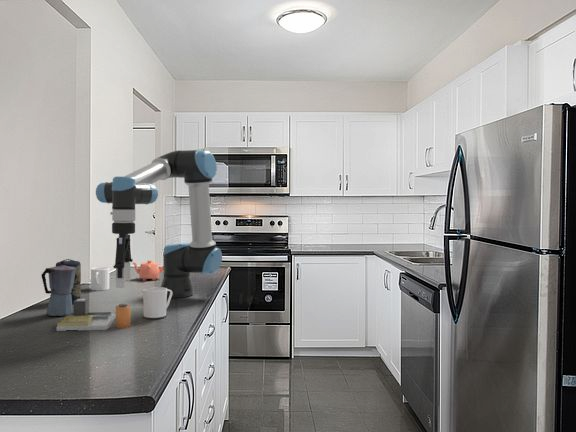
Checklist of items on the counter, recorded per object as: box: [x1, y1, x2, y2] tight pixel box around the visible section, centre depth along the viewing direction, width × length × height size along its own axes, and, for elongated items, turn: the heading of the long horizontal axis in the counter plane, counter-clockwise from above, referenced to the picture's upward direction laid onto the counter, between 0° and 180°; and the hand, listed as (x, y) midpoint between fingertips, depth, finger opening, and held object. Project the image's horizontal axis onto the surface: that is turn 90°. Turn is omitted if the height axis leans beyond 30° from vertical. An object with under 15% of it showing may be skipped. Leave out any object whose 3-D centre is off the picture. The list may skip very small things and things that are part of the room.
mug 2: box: [142, 286, 172, 320], centre depth 189 cm, size 11×9×10 cm
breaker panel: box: [56, 311, 116, 332], centre depth 177 cm, size 16×17×3 cm
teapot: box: [130, 260, 163, 282], centre depth 267 cm, size 14×12×10 cm
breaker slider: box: [72, 298, 89, 316], centre depth 181 cm, size 4×4×6 cm
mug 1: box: [90, 266, 110, 292], centre depth 237 cm, size 8×12×10 cm, turn 7°
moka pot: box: [41, 260, 76, 317], centre depth 189 cm, size 10×15×20 cm, turn 161°
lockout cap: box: [115, 303, 132, 329], centre depth 175 cm, size 5×5×8 cm
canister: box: [55, 258, 82, 304], centre depth 209 cm, size 10×10×18 cm
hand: (123, 284), depth 174 cm, fingers open, 13 cm apart
